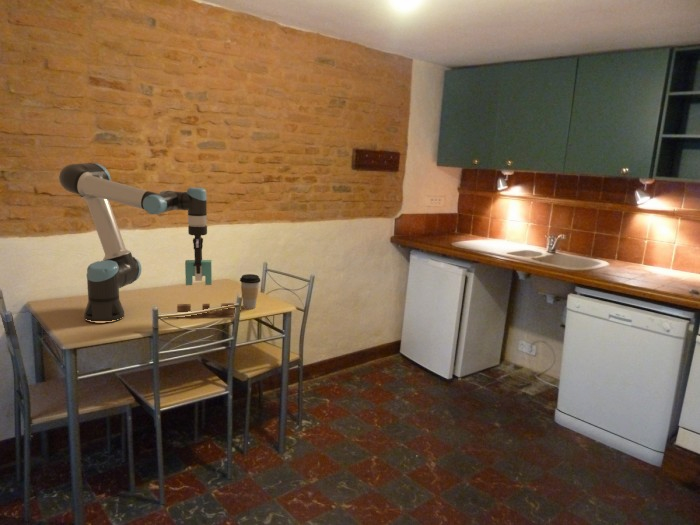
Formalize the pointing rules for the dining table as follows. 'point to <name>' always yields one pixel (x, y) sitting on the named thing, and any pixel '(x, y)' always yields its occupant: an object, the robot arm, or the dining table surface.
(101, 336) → the dining table surface
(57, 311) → the dining table surface
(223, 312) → the rail
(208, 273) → the clip
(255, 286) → the coffee cup
